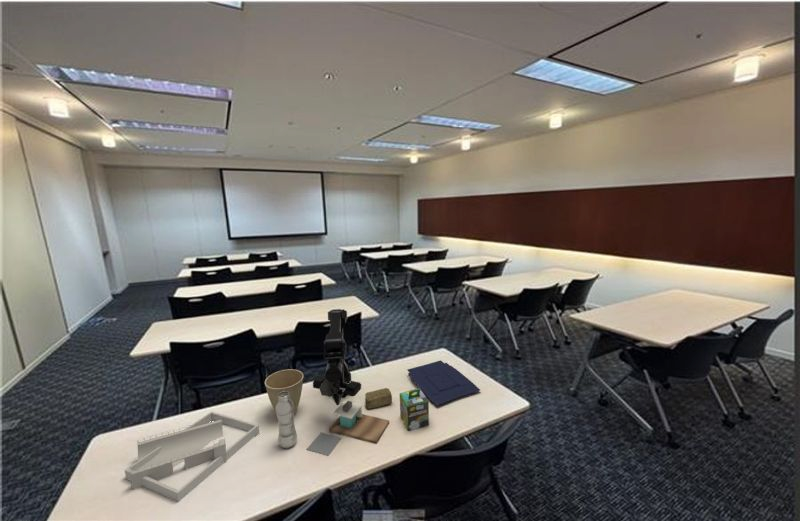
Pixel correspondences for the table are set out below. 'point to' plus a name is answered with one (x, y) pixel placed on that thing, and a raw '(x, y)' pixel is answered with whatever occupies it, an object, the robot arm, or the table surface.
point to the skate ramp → (179, 451)
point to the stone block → (378, 398)
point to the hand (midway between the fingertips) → (337, 404)
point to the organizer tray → (206, 471)
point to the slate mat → (324, 444)
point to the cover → (349, 410)
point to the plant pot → (285, 386)
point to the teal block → (347, 422)
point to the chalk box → (414, 409)
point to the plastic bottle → (286, 420)
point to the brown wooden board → (362, 428)
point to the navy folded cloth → (441, 382)
